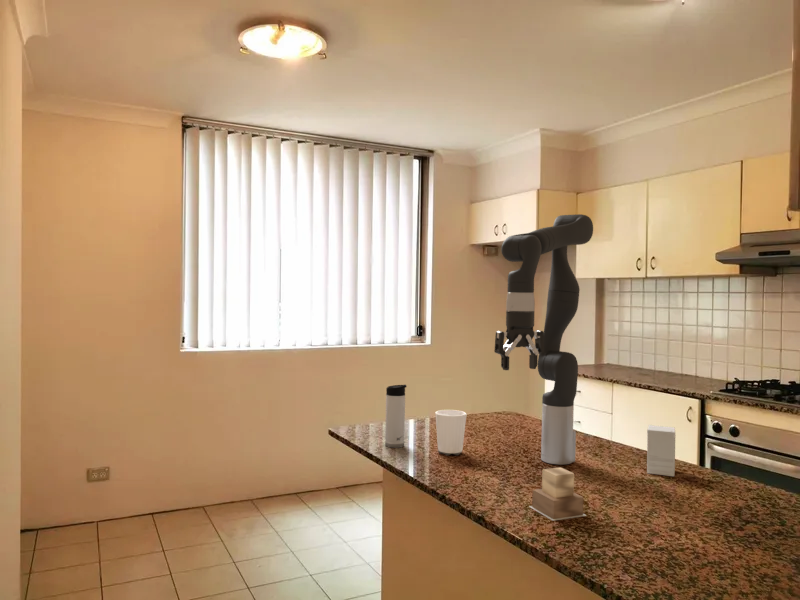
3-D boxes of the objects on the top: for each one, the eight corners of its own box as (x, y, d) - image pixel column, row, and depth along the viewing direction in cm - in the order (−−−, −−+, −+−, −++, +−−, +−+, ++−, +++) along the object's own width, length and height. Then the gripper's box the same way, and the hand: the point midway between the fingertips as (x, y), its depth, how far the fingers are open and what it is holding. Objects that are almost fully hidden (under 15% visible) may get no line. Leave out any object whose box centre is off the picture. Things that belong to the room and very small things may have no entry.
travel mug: (403, 448, 194) (404, 386, 194) (383, 447, 196) (384, 385, 195) (406, 443, 200) (408, 383, 200) (387, 442, 202) (388, 382, 201)
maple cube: (560, 488, 141) (560, 467, 141) (573, 495, 136) (574, 473, 136) (542, 490, 139) (542, 469, 139) (555, 497, 134) (555, 475, 134)
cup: (429, 455, 187) (430, 414, 187) (439, 447, 196) (440, 408, 196) (460, 458, 183) (461, 417, 183) (469, 451, 193) (470, 411, 192)
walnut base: (560, 503, 143) (561, 486, 143) (583, 514, 135) (583, 497, 135) (532, 506, 140) (532, 489, 140) (553, 519, 132) (553, 501, 132)
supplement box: (674, 470, 176) (675, 427, 176) (674, 477, 169) (675, 432, 169) (647, 466, 179) (648, 424, 179) (646, 473, 172) (647, 429, 172)
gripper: (534, 309, 169) (533, 366, 170) (490, 309, 164) (489, 368, 164) (550, 310, 162) (549, 370, 163) (505, 309, 157) (504, 372, 157)
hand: (519, 369), depth 164 cm, fingers open, 8 cm apart
